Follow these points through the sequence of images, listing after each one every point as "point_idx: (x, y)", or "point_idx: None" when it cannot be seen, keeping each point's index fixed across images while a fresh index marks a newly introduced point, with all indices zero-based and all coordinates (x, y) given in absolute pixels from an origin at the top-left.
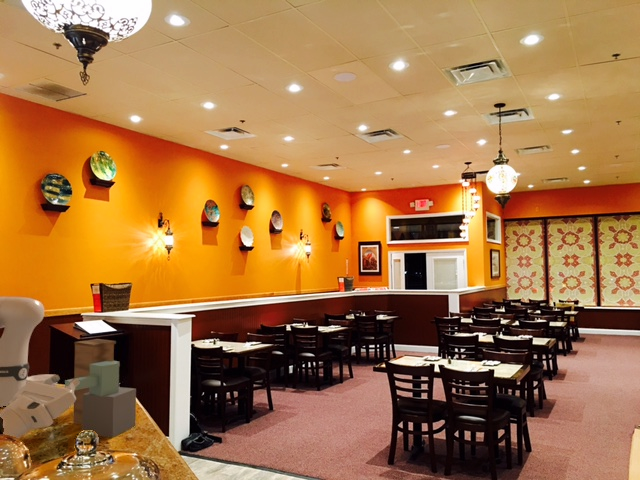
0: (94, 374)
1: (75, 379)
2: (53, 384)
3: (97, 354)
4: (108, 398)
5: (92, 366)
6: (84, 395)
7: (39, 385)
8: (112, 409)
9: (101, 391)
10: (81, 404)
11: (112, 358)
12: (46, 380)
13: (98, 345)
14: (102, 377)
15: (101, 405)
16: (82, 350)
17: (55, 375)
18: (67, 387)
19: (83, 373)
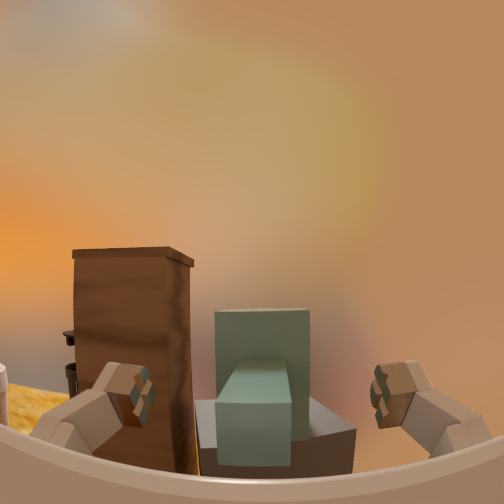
0: (253, 356)
1: (413, 365)
2: (3, 390)
3: (172, 289)
4: (333, 439)
5: (235, 320)
6: (210, 451)
7: (72, 487)
8: (349, 469)
9: (307, 421)
10: (124, 462)
11: (189, 312)
12: (76, 413)
13: (176, 256)
14: (309, 362)
15: (300, 471)
16: (109, 275)
17: (130, 370)
18: (473, 429)
19: (119, 362)
